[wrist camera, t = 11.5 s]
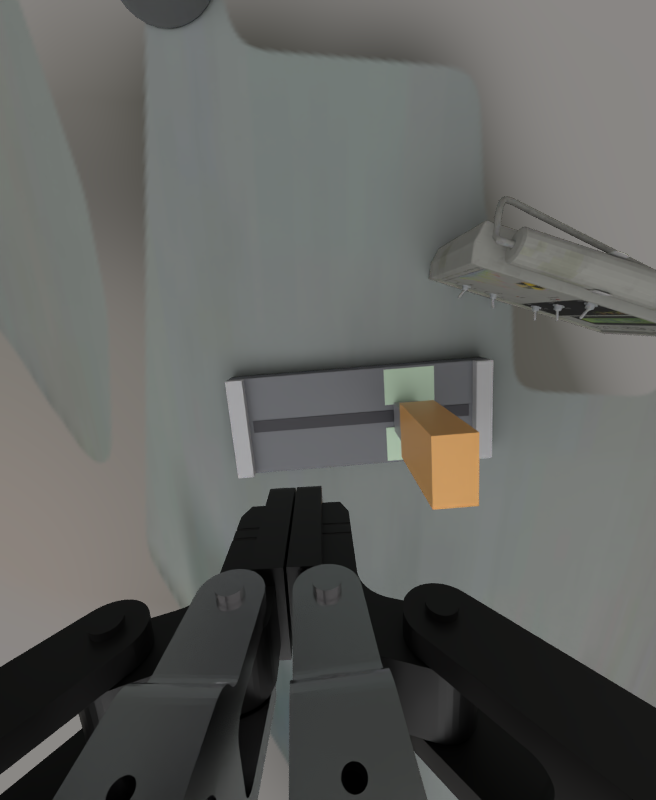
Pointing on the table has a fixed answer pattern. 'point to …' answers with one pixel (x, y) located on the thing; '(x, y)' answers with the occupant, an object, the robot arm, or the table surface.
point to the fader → (439, 453)
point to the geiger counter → (551, 275)
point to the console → (348, 412)
